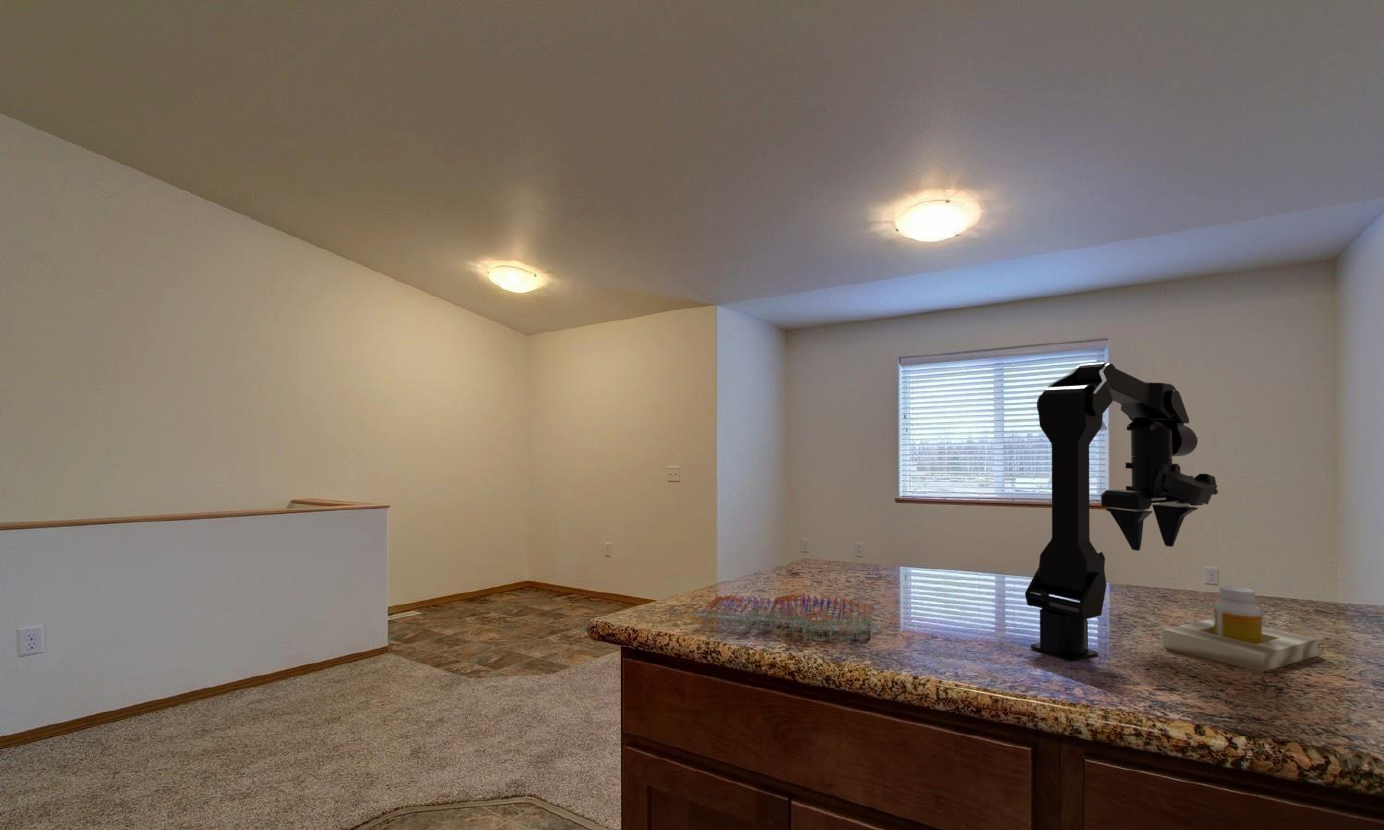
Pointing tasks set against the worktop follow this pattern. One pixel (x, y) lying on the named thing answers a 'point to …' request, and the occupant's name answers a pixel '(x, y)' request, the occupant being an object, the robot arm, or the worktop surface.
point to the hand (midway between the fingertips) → (1152, 548)
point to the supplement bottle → (1238, 615)
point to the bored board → (1240, 646)
